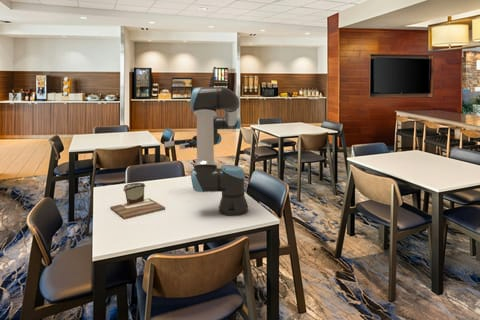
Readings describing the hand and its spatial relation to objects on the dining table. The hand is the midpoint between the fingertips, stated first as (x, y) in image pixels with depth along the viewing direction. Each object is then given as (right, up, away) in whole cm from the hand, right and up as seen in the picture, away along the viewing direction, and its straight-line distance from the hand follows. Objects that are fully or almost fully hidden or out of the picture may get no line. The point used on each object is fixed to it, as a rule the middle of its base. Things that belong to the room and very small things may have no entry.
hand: (172, 145), depth 205 cm
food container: (-20, -31, -8) cm, 38 cm away
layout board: (-15, -34, -15) cm, 40 cm away
